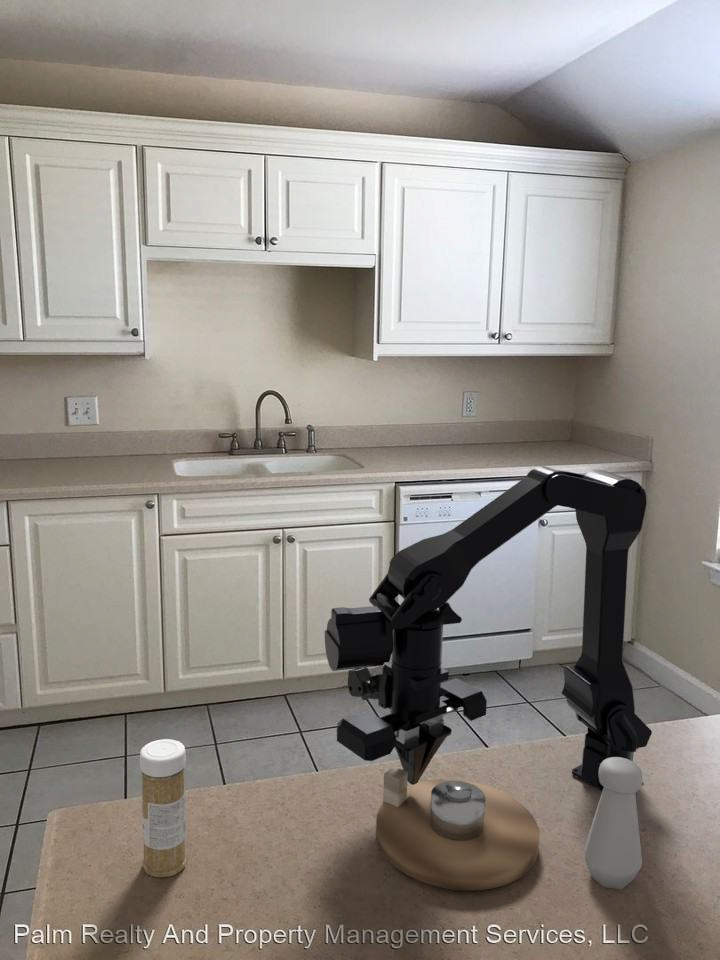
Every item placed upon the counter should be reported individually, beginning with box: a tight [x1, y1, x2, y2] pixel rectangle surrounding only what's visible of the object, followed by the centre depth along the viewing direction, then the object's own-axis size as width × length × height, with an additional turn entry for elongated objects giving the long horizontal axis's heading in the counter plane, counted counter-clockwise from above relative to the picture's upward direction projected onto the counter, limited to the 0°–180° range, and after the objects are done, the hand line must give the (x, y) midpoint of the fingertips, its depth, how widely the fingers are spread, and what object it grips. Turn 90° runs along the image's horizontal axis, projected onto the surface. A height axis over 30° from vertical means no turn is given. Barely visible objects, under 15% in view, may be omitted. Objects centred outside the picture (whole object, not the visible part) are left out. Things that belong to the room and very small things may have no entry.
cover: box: [430, 780, 486, 841], centre depth 92 cm, size 6×6×4 cm
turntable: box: [375, 766, 540, 891], centre depth 92 cm, size 18×18×5 cm
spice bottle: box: [139, 738, 187, 878], centre depth 86 cm, size 5×5×14 cm
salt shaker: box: [584, 757, 644, 891], centre depth 86 cm, size 6×6×13 cm
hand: (412, 782), depth 98 cm, fingers closed
